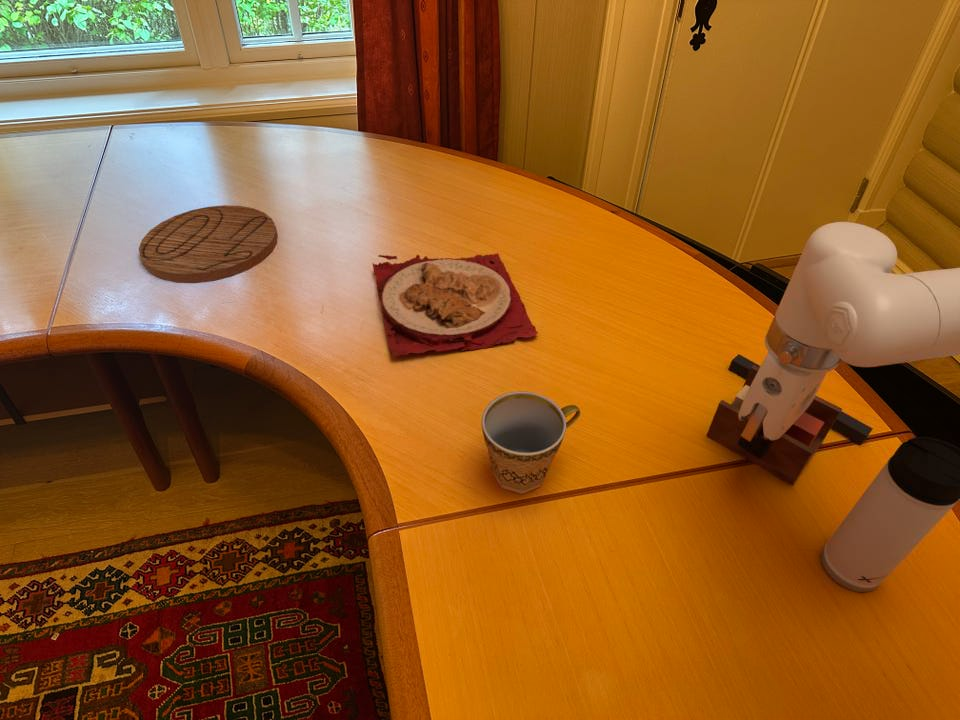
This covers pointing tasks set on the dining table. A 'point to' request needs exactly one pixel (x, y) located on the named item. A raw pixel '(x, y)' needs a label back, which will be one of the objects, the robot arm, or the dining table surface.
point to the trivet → (208, 243)
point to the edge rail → (842, 424)
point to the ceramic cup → (524, 437)
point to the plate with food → (449, 304)
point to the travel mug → (894, 513)
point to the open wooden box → (791, 447)
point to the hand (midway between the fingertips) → (751, 448)
